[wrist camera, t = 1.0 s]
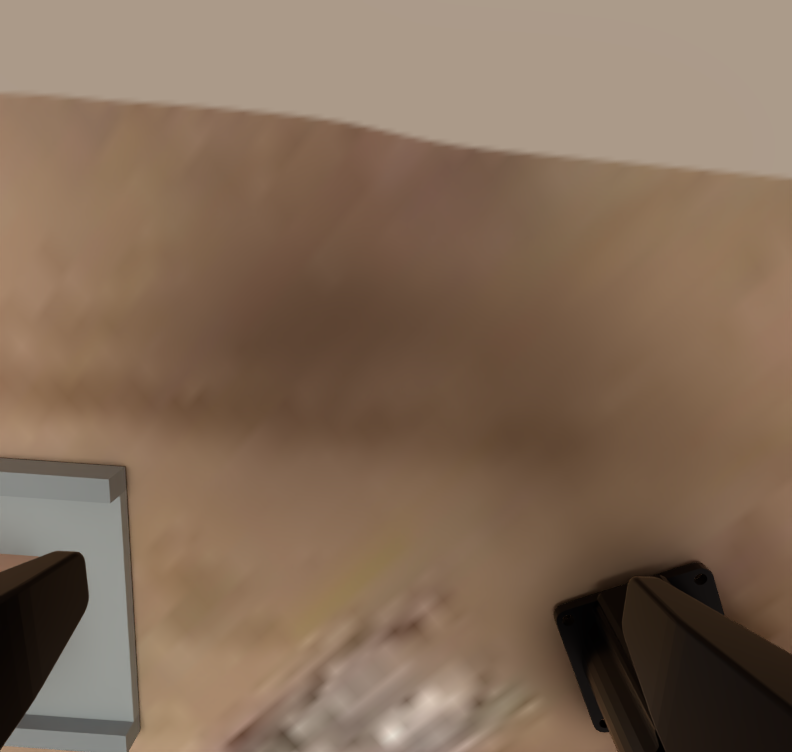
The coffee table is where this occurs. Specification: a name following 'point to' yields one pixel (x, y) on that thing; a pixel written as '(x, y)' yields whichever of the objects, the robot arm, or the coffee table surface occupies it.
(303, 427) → the coffee table surface
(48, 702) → the slate lane
